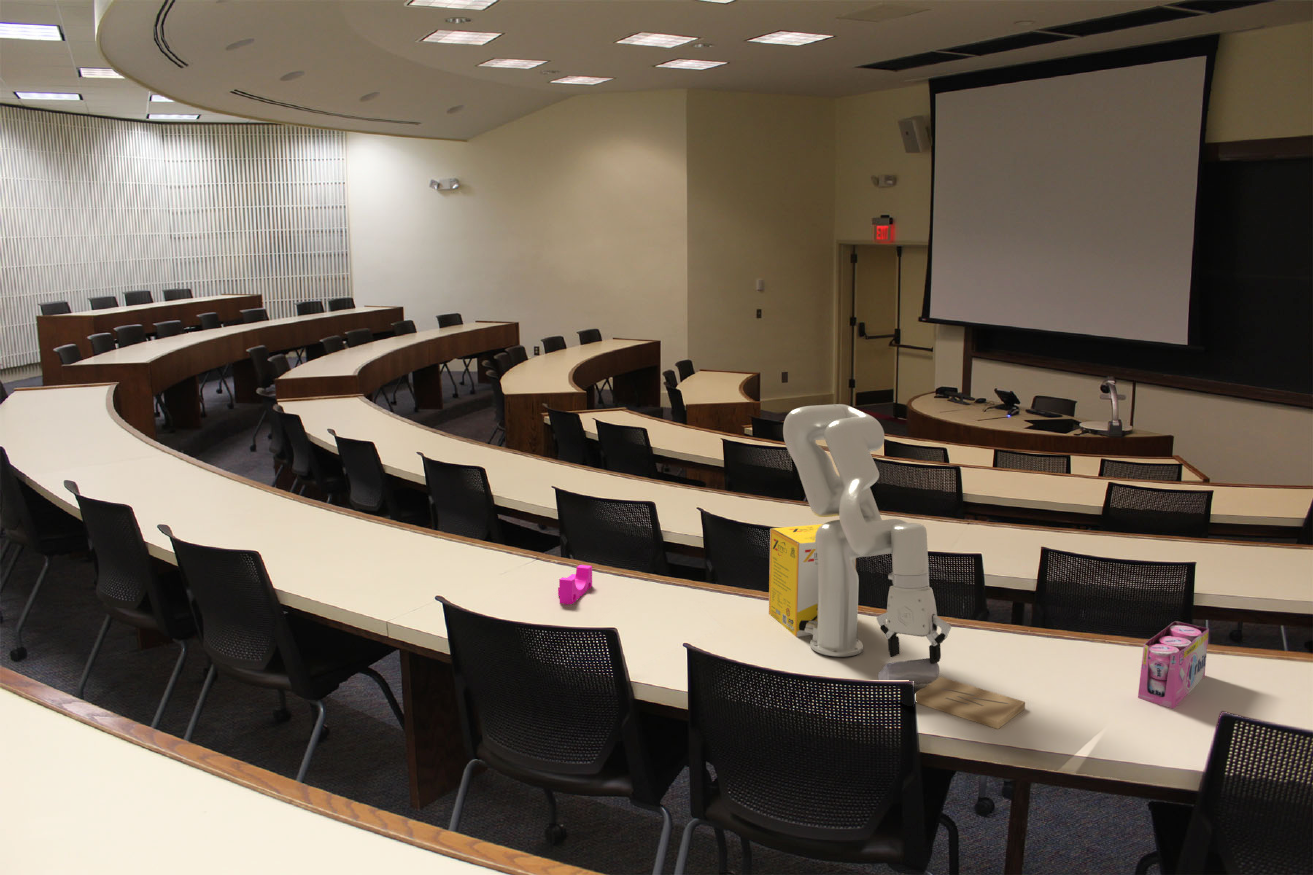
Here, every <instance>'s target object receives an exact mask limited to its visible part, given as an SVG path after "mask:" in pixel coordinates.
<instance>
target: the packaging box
mask: <svg viewBox="0 0 1313 875" xmlns="http://www.w3.org/2000/svg"><path fill="white" fill-rule="evenodd" d="M823 524H824V523H821V524H819V523H818V524H808V525H796V526H786V527H784V526H783V527H772V528H770V529H769V533H770V534H769V535H770V536H769V575H768V576H769V581H768V585H769V586H768V588H769V589H768V615H770V616H771V617H772V618H773V619H774V620H775V621H777V623H778V624H780V625H781V626H783V627H784V628H785V629H786V630H787V631H788V632H790V633H791V634H792V635H793V636H794V637H795V638H799V637H804V636H805V637H806V636H811V635H812V634H809V633H806V632H805V628H806V624H807V623H808V622H810V623H814V624H816V625H817V613H818V557H817V551H816V545H815V535H816V532H817V530H818V528H819V527H820V526H821V525H823ZM851 562H852V564H853V566H854V568H855V570H856V571H857V558H854V559H851ZM812 636H813V635H812Z"/></svg>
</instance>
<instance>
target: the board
mask: <svg viewBox="0 0 1313 875" xmlns="http://www.w3.org/2000/svg"><path fill="white" fill-rule="evenodd" d="M915 692H916V701H917V703H916V704H918V705H922V706H925V707H928V708H931V709H935V710H936V711H937V710H938V711H941V712H944V713H947V714H950V715H954V716H955V717H956V716H957V717H959V718H963V719H965V720H969V721H972V722H974V723H978V724H980V725H981V724H982V725H984V726H986V727H990V728H994V729H997V730H999V729H1001V727H1003V726H1004V725H1005V724H1007V723H1008V722H1010V720H1012V719H1014V718H1015V717H1016V716H1017V715H1018V714H1019V713H1021V712H1023V711H1024V710H1025V709H1026V702H1025V701H1023V700H1019V699H1017V698H1013V697H1010V696H1007V695H1002V694H1000V693H997V692H993V691H990V690H986V689H982V688H979V687H976V686H972V685H969V684H965V683H962V682H960V681H956V680H952V679H950V678H946V677H942V676H940V677H937V678H936V679H935V680H934V681H932V683H927V684H926V685H925V686H924V687H921V688H920V689H919V690H917V691H915Z"/></svg>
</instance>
